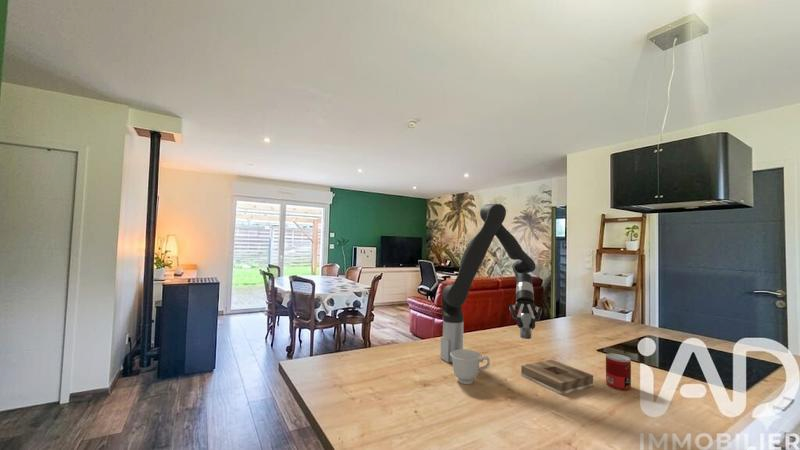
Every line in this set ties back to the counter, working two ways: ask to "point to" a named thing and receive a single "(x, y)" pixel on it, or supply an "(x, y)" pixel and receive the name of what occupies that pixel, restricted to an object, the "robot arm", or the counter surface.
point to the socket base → (557, 376)
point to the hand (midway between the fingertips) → (526, 327)
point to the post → (525, 325)
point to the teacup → (467, 365)
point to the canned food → (618, 371)
